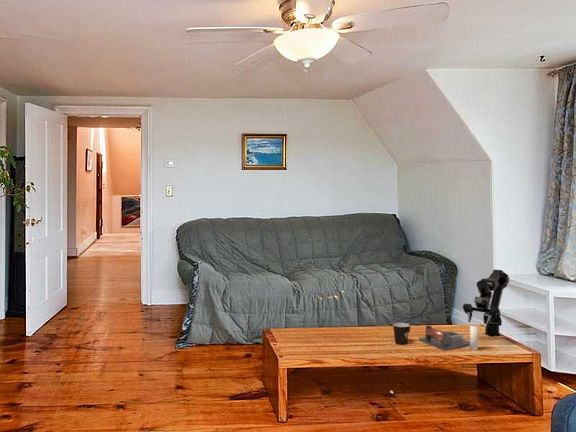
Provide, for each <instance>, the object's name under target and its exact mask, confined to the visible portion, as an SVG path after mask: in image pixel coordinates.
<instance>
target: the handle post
mask: <svg viewBox="0 0 576 432" xmlns="http://www.w3.org/2000/svg"><path fill="white" fill-rule="evenodd" d="M469 341H470V346H469V350H471V351H478V350H479V326H478V325H469Z"/></svg>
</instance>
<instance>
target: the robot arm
mask: <svg viewBox="0 0 576 432" xmlns="http://www.w3.org/2000/svg"><path fill="white" fill-rule="evenodd" d="M509 283H510V276H509V274H507V273H505V272H504V271H503V270H501V269H493V270H492V273H491V274H490V275H489V276H488V277H487V278H481V280H479V281H477V282H476V288H477V291H478V293H479V294H480V295H479V296H475V297H474V303H475V306H473V305H472V304H471V303H464V304H462V309H463V312H464V313H465V314H466V315H467V318H468V319H467V320H468V323H471V321H472V317H473V312H479V313H483V315H482V316H483V317H482V318H483V324H485V325H486V326H485V329H484V330H485V331H484V334H485V335H487V336H489V337H500V336H501V335H502V334H501V333H500V327H501V326H503V324H502V322H503V321H502V318H501V314H502V313H501V309H500V308H499V307H500V304H501V299H502V295H503V292H504V290H505V288H507V287H508V284H509ZM492 291H493V293H492Z"/></svg>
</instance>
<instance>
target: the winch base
mask: <svg viewBox="0 0 576 432" xmlns="http://www.w3.org/2000/svg"><path fill="white" fill-rule="evenodd" d="M463 336H464V335H463V334H462V333H459V332H455V331H451V330H450V331H442V330H440V329H437V328H433V327H432V325H430V324H429V325H425V336H423V337H419V338H418V341H419V342H422V343H424V344H426V345H429V346H432V347H433V348H436V349H439V350H442V351H444V352H446V350H447V351H451V350H452V351H453V350H456V349H463V348H467V346H468V347H470V340H467V339H464V337H463Z"/></svg>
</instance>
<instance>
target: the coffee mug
mask: <svg viewBox="0 0 576 432" xmlns="http://www.w3.org/2000/svg"><path fill="white" fill-rule="evenodd" d="M392 325H393V326H392V328H393V335H394V344H396V345H399V346H405V345H407V344H408V342H409V341H408V339H409V333H410V331H411V326H410V324H409V323H405V322H396V323H392Z"/></svg>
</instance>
